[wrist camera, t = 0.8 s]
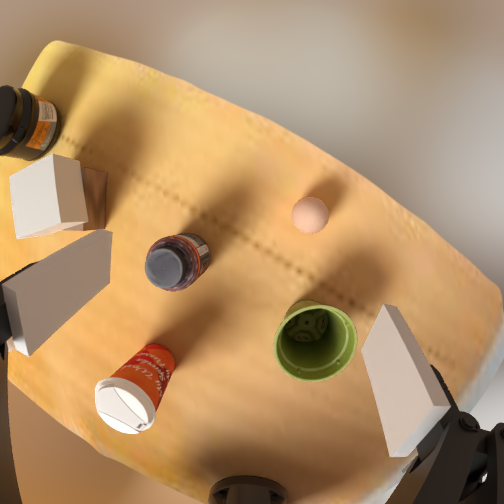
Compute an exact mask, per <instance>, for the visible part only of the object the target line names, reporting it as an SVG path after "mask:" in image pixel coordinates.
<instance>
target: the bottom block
mask: <svg viewBox="0 0 504 504" xmlns="http://www.w3.org/2000/svg"><path fill="white" fill-rule="evenodd" d="M107 174H108V173H106V172H102V171H98V170H94V169H90V168H81V176H82V183H83V190H84V197H85V203H86V209H87V215H88V222H85V223H82V224H79V225H76V226H73V227H70V228H67V229H64V230H73V231H87V230H97V229H105V206H106V188H107Z"/></svg>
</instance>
